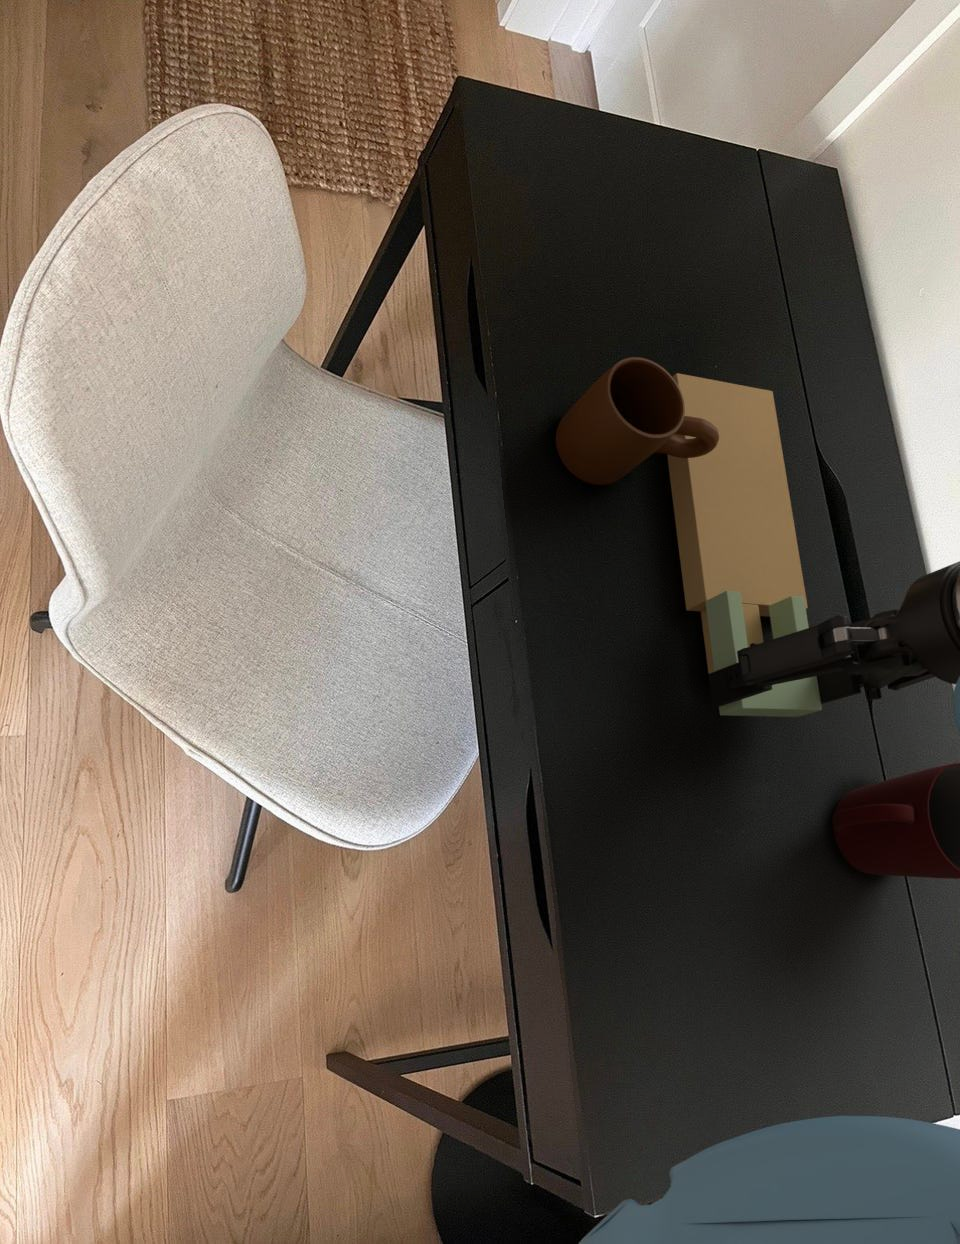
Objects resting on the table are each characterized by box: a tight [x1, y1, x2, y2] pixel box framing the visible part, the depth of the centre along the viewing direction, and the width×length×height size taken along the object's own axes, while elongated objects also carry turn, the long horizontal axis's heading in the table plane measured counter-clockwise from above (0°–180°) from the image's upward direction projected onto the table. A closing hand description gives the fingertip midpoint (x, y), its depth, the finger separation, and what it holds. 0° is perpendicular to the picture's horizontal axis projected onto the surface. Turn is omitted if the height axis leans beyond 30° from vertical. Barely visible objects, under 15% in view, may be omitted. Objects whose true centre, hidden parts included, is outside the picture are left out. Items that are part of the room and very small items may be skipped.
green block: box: [705, 591, 823, 718], centre depth 77 cm, size 10×8×3 cm
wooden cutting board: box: [666, 372, 808, 674], centre depth 84 cm, size 11×28×3 cm, turn 3°
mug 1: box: [555, 356, 719, 486], centre depth 79 cm, size 12×8×9 cm, turn 78°
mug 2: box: [832, 762, 960, 880], centre depth 77 cm, size 12×9×11 cm
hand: (757, 691), depth 77 cm, fingers closed on green block, 8 cm apart
